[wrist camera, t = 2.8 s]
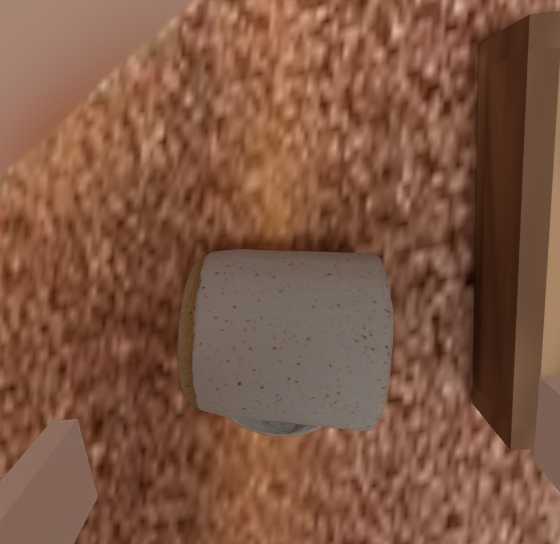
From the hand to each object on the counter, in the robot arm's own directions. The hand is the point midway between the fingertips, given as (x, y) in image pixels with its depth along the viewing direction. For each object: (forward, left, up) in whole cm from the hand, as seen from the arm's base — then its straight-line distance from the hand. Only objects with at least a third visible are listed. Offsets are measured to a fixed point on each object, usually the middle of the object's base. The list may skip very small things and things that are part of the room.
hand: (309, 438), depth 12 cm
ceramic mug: (0, -1, -11) cm, 11 cm away
